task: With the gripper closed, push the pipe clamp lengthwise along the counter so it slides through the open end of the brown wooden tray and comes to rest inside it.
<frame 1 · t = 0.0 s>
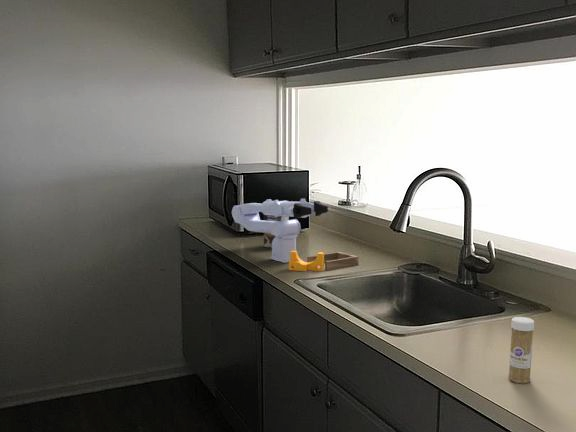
hand: (319, 210, 243), 22 cm above the worktop, tool horizontal, fingers open, 7 cm apart
coffee box: (276, 247, 288), on the worktop
sprinkles bottle: (519, 381, 144), on the worktop
brown wooden tray: (333, 264, 254), on the worktop
pipe clamp: (306, 270, 245), on the worktop
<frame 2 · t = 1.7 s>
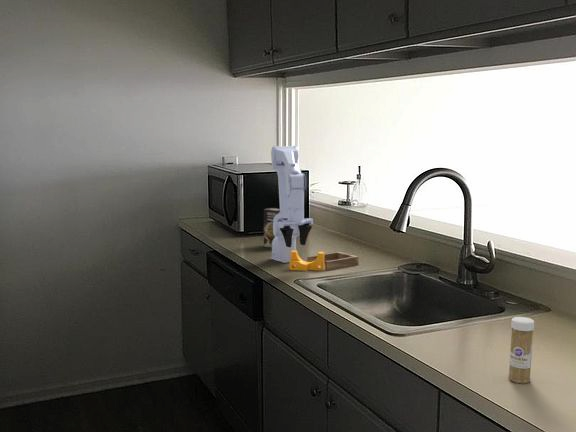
hand: (295, 245, 241), 9 cm above the worktop, tool pointing down, fingers open, 6 cm apart
nothing on the worktop moved.
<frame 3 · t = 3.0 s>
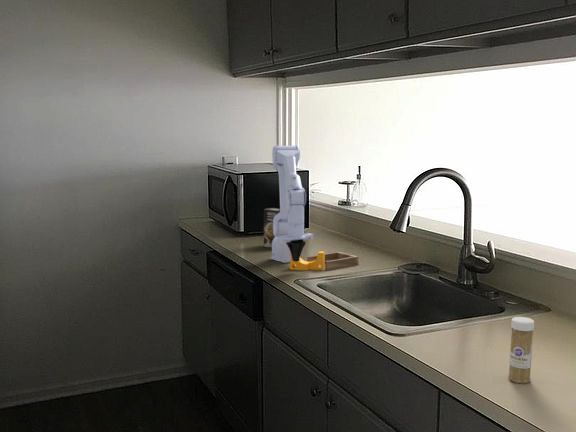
hand: (295, 260, 242), 4 cm above the worktop, tool pointing down, fingers closed
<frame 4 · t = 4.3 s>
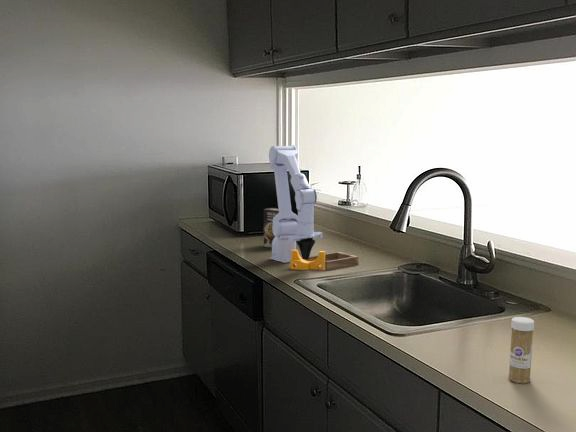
hand: (305, 259, 244), 4 cm above the worktop, tool pointing down, fingers closed, pressing on pipe clamp
pipe clamp: (307, 269, 247), on the worktop, touching gripper
everything else where it was.
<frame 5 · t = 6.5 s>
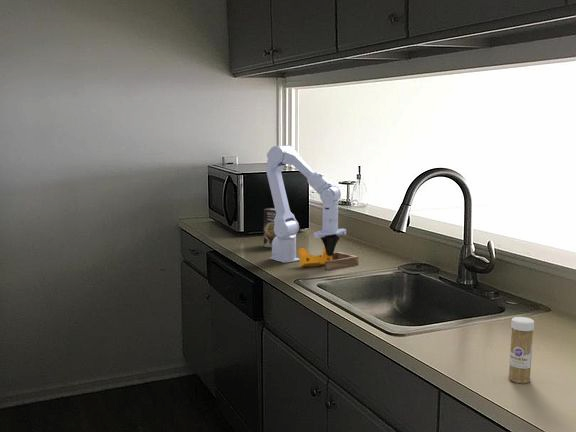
hand: (329, 255, 251), 4 cm above the worktop, tool pointing down, fingers closed
pipe clamp: (318, 264, 250), point 1 cm above the worktop
everything else where it was.
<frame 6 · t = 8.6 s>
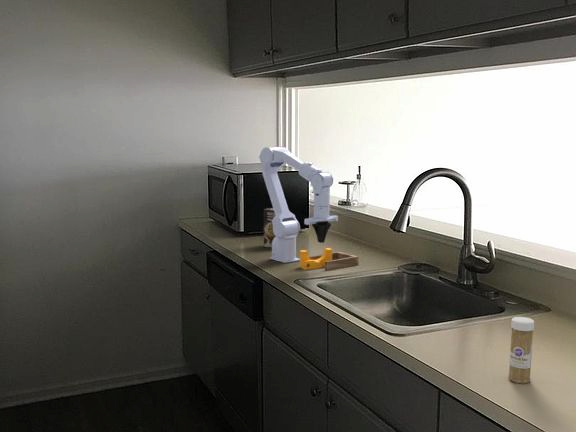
hand: (321, 242, 248), 9 cm above the worktop, tool pointing down, fingers closed
pipe clamp: (316, 267, 250), on the worktop
everything else where it was.
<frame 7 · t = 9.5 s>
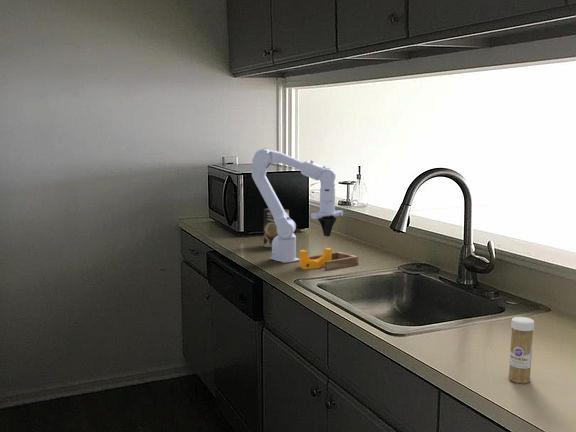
hand: (326, 235, 258), 10 cm above the worktop, tool pointing down, fingers closed
nothing on the worktop moved.
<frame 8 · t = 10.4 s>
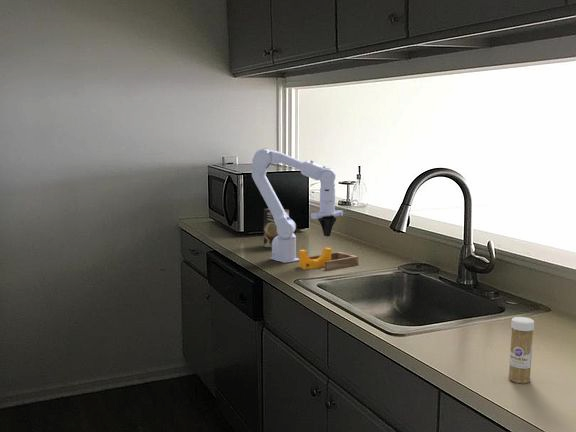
hand: (326, 235, 258), 10 cm above the worktop, tool pointing down, fingers closed
nothing on the worktop moved.
at the end: pipe clamp inside the target area on the brown wooden tray (7.7 cm from its centre), point 0.0 cm above the brown wooden tray's base; pipe clamp moved 6.6 cm from its start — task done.
